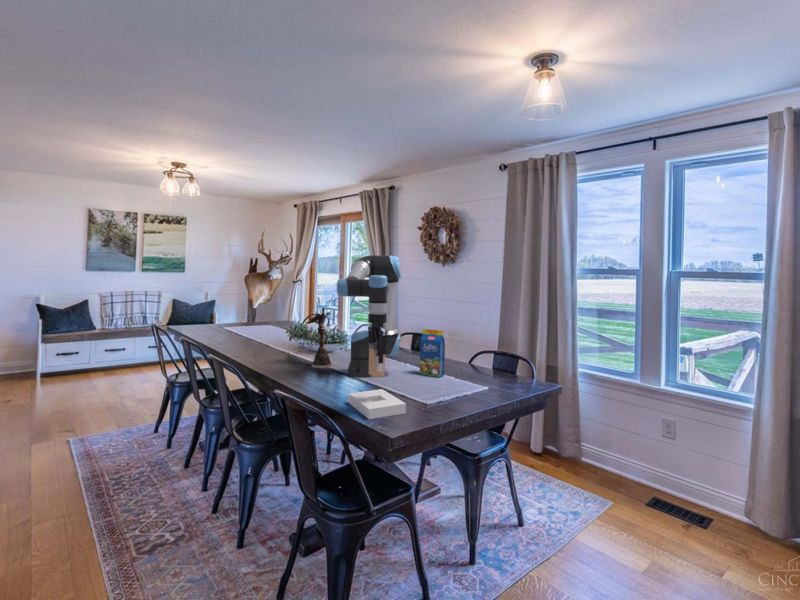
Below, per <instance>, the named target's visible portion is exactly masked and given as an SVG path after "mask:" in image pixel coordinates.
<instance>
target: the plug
mask: <svg viewBox="0 0 800 600" xmlns="http://www.w3.org/2000/svg"><path fill="white" fill-rule="evenodd" d="M376 354H378V353H377V343H369V374H370V375H371V376H370V377H373V378H374V377H383V376H384V377H385V375H386V356H385V355H383V371H376Z"/></svg>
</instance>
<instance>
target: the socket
mask: <svg viewBox="0 0 800 600" xmlns="http://www.w3.org/2000/svg"><path fill="white" fill-rule="evenodd" d="M347 396H348V398H347V401H348V403H349V405H350V406H352V407H353V408H354V409H355V410H357V411H358V412H359V413H360V414H362V415H363V416H365V418H367V419H368V420H374V419H380V418H386V417H392V416H398V415H404V414H406V413H407V403H406V402H404V401H403V400H401V399H399V398H398V397H396V396H395V395H392V394H391V393H389V392H387V391H386V390H384V389H382V388H379V389H372V390H365V391H359V392H357V391H356V392H350V393H348V395H347Z"/></svg>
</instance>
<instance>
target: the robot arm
mask: <svg viewBox="0 0 800 600" xmlns="http://www.w3.org/2000/svg"><path fill="white" fill-rule="evenodd" d="M366 278H368V279H366ZM399 279H400V280H401V279H402V267H401V260H400V257H398V256H396V255H371V254H370V255H365V256H362V257H360V258H358V259H356V260H355V261H354V262H353V263H352V264H351V267H350V272H349V273H348V275H347V277H346V278H338V279H337V282H336V293H337V295H338V296H339V297H347V298H348V297H353V298H354V297H356V298H357V297H358V298H359V297H363V298H365V297H366V298H368V305H367V308H368V310H367V311H368V314H367V315H368V316H367V318H368V319H367V322H368V323H369V324H371V325H370V326H367V330H360V331H355V332H352V334H351V336H350V361H349V364H348V366H347V371H346V372H347V374H346V375H348V376H350V377H355V378H364V377H365V378H367V377H372V376H371V375H370V374H369V343H377V353H378V354H376V371H383V355H385V357H386V356H387V357H392V356H397V355H398V354H399V348H400V341H401V334H400V333H399V330H398V329H396V287H397V286H396V285H397V284H398V283H399V281H400V280H399Z"/></svg>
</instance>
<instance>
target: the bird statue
mask: <svg viewBox="0 0 800 600" xmlns="http://www.w3.org/2000/svg"><path fill="white" fill-rule="evenodd" d="M325 308H326V307H322V308H321V313H320V312H318V311H317V310H316V311H315V312H314V313H315V315H314V316H312V318H311V319H309V320H305V323H304V324H305V325H308V324H313V323H317V322H318V327H317V332H318V333H319V339H318V340H319V342H320V343H319V347H318V349H317V352H316V354H314V359H313V362H311V368H313V369H327V368H331V367H332V361H331V359H330V355H329V353H328V352H327V350H326V349H327V347H325V346H324V345H325V343H324V342H325V339H324V338H325V337H324V336H325V333H326V331H327V328H326V324H325V323H324V320H325V319H326V317H328V316H329V315H330V314H331V312H330V311H328V312H325Z"/></svg>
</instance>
